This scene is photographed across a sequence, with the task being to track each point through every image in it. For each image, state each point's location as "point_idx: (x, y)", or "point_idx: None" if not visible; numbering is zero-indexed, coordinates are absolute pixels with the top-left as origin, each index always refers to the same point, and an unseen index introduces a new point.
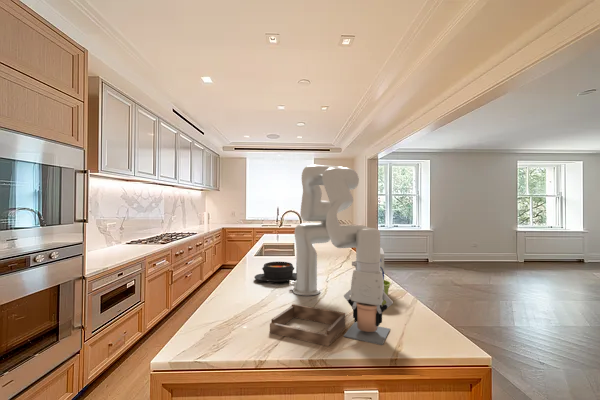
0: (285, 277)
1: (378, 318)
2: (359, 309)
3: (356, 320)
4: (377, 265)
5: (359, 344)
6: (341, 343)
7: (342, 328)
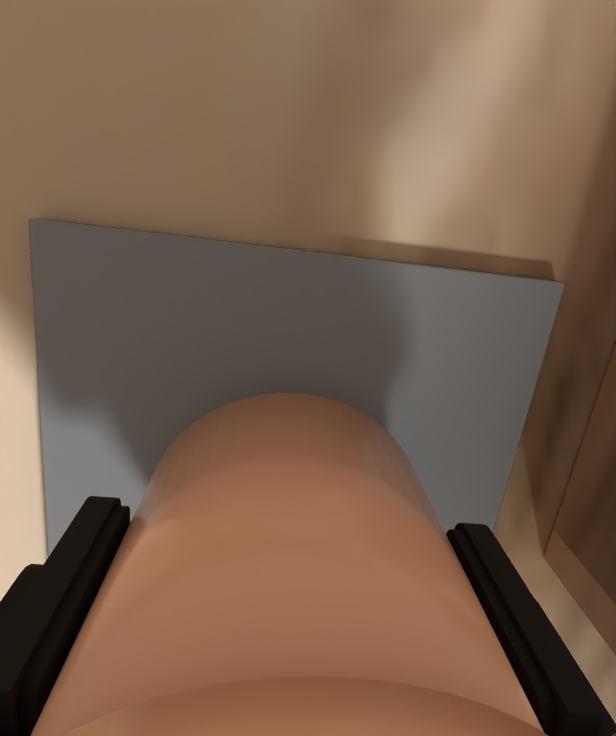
0: None
1: (30, 603)
2: (509, 709)
3: (461, 539)
4: None
5: (334, 126)
6: (577, 64)
7: (581, 475)
